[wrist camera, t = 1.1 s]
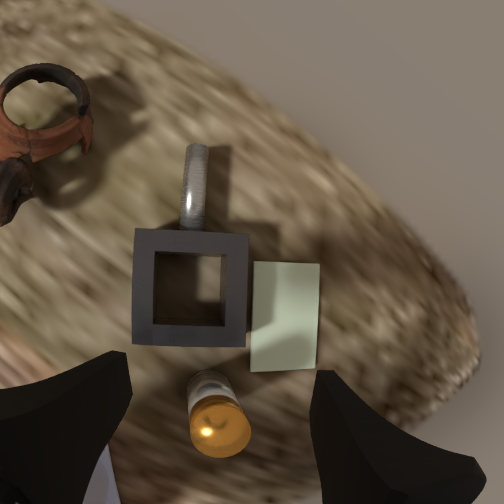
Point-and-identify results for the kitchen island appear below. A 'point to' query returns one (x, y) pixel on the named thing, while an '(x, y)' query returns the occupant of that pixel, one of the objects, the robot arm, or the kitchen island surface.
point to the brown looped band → (37, 135)
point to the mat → (284, 316)
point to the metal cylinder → (216, 415)
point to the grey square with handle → (191, 244)
